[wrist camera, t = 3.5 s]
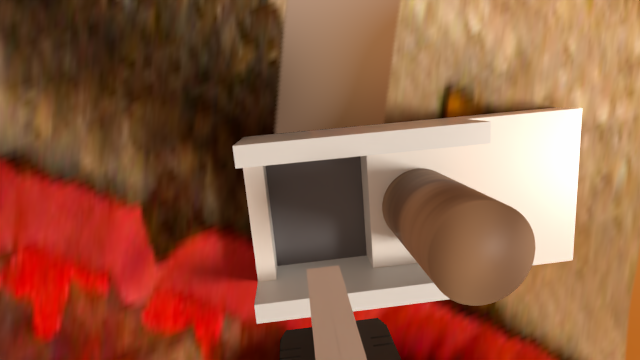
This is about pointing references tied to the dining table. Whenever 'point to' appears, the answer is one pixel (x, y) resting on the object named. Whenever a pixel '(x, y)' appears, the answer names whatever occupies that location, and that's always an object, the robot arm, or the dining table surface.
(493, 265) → the brown cylinder
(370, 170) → the channel
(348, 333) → the robot arm
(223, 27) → the dining table surface
